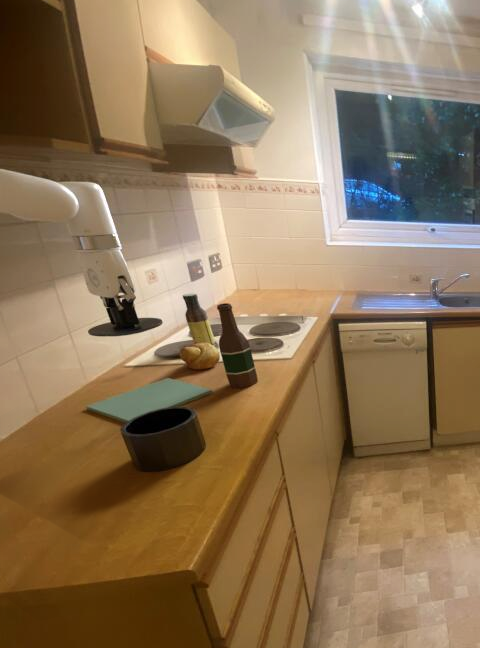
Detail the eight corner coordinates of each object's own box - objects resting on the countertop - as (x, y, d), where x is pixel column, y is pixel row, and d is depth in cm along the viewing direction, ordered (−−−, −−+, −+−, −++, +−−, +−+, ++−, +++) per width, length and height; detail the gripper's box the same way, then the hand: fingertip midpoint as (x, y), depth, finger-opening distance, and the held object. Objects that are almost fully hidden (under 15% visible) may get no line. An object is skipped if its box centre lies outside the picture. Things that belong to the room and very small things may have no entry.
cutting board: (132, 425, 106) (131, 421, 105) (87, 409, 113) (85, 406, 113) (213, 392, 123) (212, 389, 122) (168, 380, 130) (167, 377, 130)
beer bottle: (238, 391, 124) (217, 309, 115) (223, 385, 127) (201, 305, 118) (264, 381, 130) (246, 303, 121) (248, 376, 134) (230, 299, 124)
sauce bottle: (208, 344, 160) (193, 291, 152) (220, 346, 158) (206, 292, 150) (191, 350, 154) (174, 295, 147) (203, 352, 152) (187, 296, 145)
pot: (157, 478, 87) (144, 441, 83) (120, 463, 91) (106, 428, 88) (218, 446, 97) (208, 413, 94) (183, 434, 102) (172, 402, 99)
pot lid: (110, 342, 93) (100, 316, 91) (77, 334, 99) (67, 309, 96) (176, 325, 105) (168, 302, 103) (143, 319, 110) (135, 297, 108)
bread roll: (192, 359, 146) (186, 337, 143) (226, 356, 149) (220, 333, 146) (182, 373, 135) (175, 349, 132) (218, 369, 138) (212, 345, 135)
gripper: (55, 243, 94) (86, 324, 101) (97, 247, 88) (127, 333, 95) (97, 239, 100) (124, 316, 107) (139, 243, 94) (165, 324, 101)
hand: (125, 323), depth 101 cm, fingers closed on pot lid, 3 cm apart
